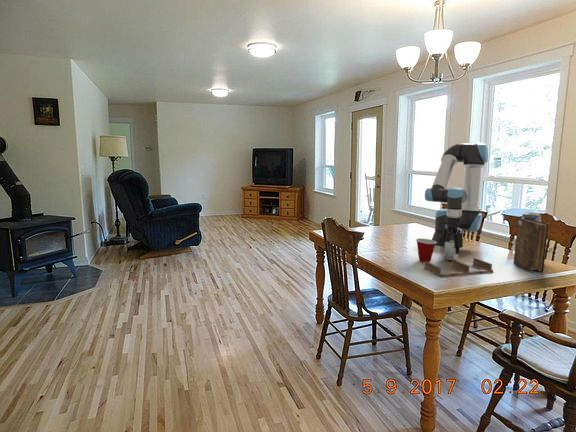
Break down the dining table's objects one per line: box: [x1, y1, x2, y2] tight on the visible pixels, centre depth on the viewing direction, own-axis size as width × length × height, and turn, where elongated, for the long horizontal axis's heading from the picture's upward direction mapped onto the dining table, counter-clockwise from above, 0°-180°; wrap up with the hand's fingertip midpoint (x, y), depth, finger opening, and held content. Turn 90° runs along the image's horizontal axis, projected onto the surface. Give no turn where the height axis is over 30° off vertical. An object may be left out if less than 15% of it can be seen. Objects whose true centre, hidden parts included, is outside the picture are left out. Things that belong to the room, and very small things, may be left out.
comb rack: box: [424, 257, 494, 278], centre depth 189 cm, size 30×13×4 cm, turn 103°
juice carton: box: [520, 210, 542, 222], centre depth 208 cm, size 9×10×27 cm
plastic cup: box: [415, 238, 437, 264], centre depth 204 cm, size 11×11×12 cm
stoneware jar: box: [443, 240, 459, 261], centre depth 206 cm, size 7×7×10 cm
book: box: [513, 218, 550, 273], centre depth 191 cm, size 17×7×25 cm, turn 177°
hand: (451, 257), depth 207 cm, fingers closed on stoneware jar, 7 cm apart
